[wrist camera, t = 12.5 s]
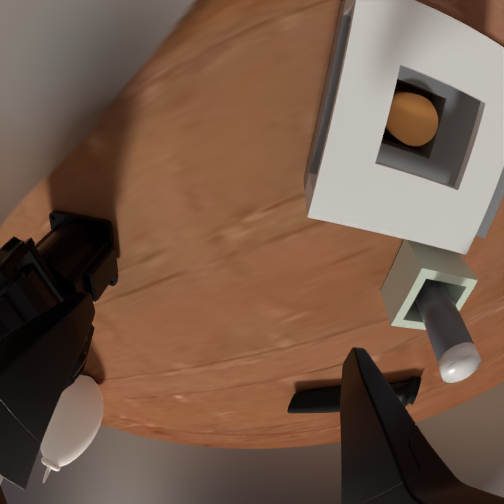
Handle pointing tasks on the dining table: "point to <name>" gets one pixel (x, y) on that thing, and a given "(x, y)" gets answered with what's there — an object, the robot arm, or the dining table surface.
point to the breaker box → (399, 156)
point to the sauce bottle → (72, 424)
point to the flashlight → (447, 332)
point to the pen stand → (423, 280)
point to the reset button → (412, 118)
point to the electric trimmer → (331, 398)
